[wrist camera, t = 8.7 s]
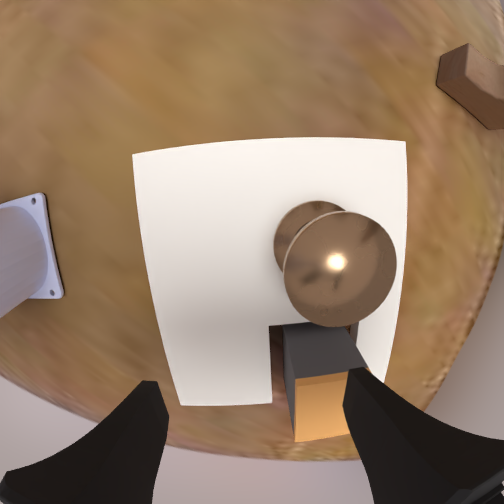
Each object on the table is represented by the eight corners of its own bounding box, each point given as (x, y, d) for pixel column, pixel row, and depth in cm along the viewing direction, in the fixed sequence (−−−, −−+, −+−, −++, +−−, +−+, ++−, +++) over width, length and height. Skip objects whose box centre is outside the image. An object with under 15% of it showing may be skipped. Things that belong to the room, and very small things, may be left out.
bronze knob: (275, 288, 17) (286, 333, 12) (270, 202, 15) (282, 216, 11) (355, 280, 17) (390, 319, 12) (357, 198, 16) (399, 211, 11)
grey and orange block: (283, 376, 21) (295, 442, 14) (282, 322, 19) (296, 386, 13) (333, 370, 21) (358, 431, 14) (338, 316, 19) (372, 374, 13)
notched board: (184, 392, 21) (180, 405, 19) (141, 155, 16) (132, 154, 15) (376, 374, 21) (383, 384, 19) (394, 143, 16) (405, 141, 15)
